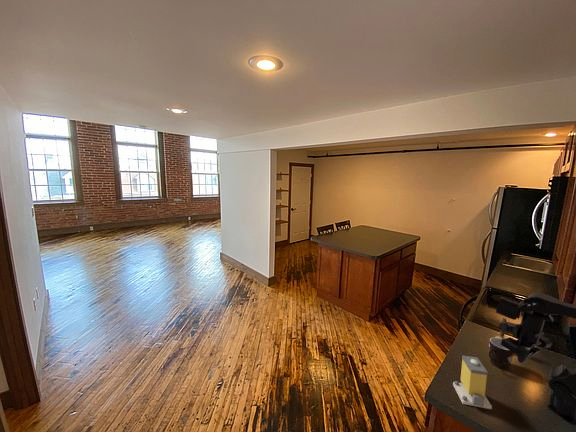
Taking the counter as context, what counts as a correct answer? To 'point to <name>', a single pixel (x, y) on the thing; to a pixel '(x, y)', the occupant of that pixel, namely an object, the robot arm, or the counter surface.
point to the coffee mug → (499, 354)
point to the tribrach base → (471, 397)
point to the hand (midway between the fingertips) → (520, 362)
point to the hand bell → (501, 332)
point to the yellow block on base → (473, 375)
